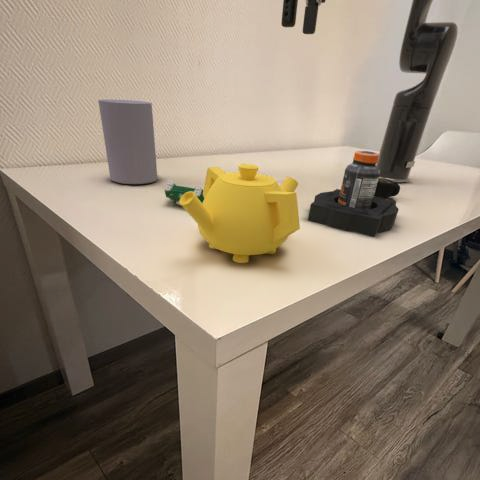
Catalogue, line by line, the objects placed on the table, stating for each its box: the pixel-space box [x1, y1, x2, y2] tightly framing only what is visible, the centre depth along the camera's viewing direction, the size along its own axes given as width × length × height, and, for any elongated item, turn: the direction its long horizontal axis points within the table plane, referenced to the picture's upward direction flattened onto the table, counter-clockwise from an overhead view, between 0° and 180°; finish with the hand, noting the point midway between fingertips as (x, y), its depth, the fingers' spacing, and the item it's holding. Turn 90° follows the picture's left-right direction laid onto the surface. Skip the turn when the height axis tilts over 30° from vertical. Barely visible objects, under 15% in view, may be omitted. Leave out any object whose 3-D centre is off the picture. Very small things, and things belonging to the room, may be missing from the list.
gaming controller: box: [164, 179, 204, 206], centre depth 62 cm, size 9×4×6 cm
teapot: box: [179, 163, 301, 264], centre depth 45 cm, size 20×18×11 cm
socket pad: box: [307, 188, 400, 238], centre depth 62 cm, size 15×15×3 cm
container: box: [97, 98, 158, 186], centre depth 71 cm, size 10×10×15 cm
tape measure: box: [374, 178, 401, 199], centre depth 76 cm, size 7×7×4 cm
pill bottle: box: [338, 150, 380, 209], centre depth 59 cm, size 6×6×11 cm
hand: (298, 30), depth 58 cm, fingers open, 8 cm apart
